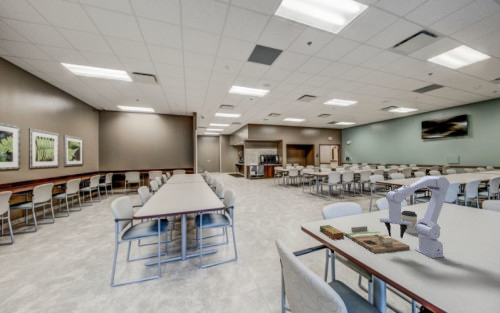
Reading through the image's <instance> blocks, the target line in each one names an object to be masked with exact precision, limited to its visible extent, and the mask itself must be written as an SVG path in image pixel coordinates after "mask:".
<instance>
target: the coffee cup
mask: <svg viewBox="0 0 500 313" xmlns="http://www.w3.org/2000/svg"><path fill="white" fill-rule="evenodd" d="M401 216H402V220H403V221H408V222H412V226H407V229H406V231H405V232H404V233H407V234H410V235H413V234H414V235H416V233H417V232H416V231H415V228H414V227H415V225H416V224H417V223H418V218H417V217H418V215H417V213H416V212H415V211H412V210H411V211H410V210H402V211H401Z"/></svg>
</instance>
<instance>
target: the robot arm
mask: <svg viewBox="0 0 500 313" xmlns="http://www.w3.org/2000/svg"><path fill="white" fill-rule="evenodd" d="M450 184H451V183H450V181H449V179H447V177H445V176H437V175H436V176H435V175H425V176H422V177H420V179H418V180H417V181H415V182H413V183H411V184H410V185H407V184H406V185H401V187H399V188H397V189H396V188H395V189H394V190H390V191H388V192H387V193H386V195H385V198H386V200H387V205H388V218H383V217H382V218H379V223H381V224H382V223H384V226H385V227H386V229H387V233H388V236H390V237H392V232H391V229H392V227H391V226H392V225H394V224H395V225H399V226H400V227H399V232H400V233H399V234H400V239H403V238H404V234H405V233H406V232H405V231H406V229H407V226H412V222H408V221H403V220H402V214H401V213H402V203H403V202H404V200H405V199H407V198H408V197H411V196H412V195H413V194H415V192H416V191H417V190H420V189H422V188H427V189H428V190H429V191H431V193H432V194H431V197H430V200H429V203H428V205H427V207H426V210H425V214H424V217H423V218H420V219H417V224H416V225H415V227H414V228H415V231H416V233H417V235H418V248H414V251H417V252H419V253H421V254H423V255H425V256H427V257H429V258H432V259H435V258H444V257H445V255H444V247H443V243H442V242H441V241H439V240H438V239H439V238H440V236H441V229H442V228H441V227H440V225H439V224H438V223H437V222H438V219H439V217H440V215H441V211H442V208H443V205H444V203H445V200H446V197H447V193H448V189H449V187H450ZM391 224H392V225H391Z"/></svg>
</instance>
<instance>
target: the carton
mask: <svg viewBox="0 0 500 313" xmlns="http://www.w3.org/2000/svg"><path fill="white" fill-rule="evenodd" d="M319 231H320V232H321V233H323V234H324V235H326V236H327V237H329V238H330V239H332V240H338V239H339V240H340V239H341V240H342V239H345V235H344V231H341V230H340V229H337V228H336V227H334V226H331V225H330V224H326V225H320V226H319Z"/></svg>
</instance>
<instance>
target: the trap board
mask: <svg viewBox="0 0 500 313" xmlns="http://www.w3.org/2000/svg"><path fill="white" fill-rule="evenodd" d="M343 233H344V237H346V238H349V239H350V240H351V241H352V242H355V243H356V244H358V245H360V246H361V247H363V248H364V249H366V250H368V251H369V252H371V253H373V254H379V253H388V252H389V253H390V252H399V251H407V250H410V249H411V248H410V245H408V244H406V243H404V242H402V241H401V240H397V239H395V238H393V237H392V243H393V246H386V247H385V246H383V245H381V244H379V243H378V235H380V234H383V233H381V232H379V231H377V230H375V229H369V230H368V226H367V225H364V226H352V227H351V230H350V231H343Z"/></svg>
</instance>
